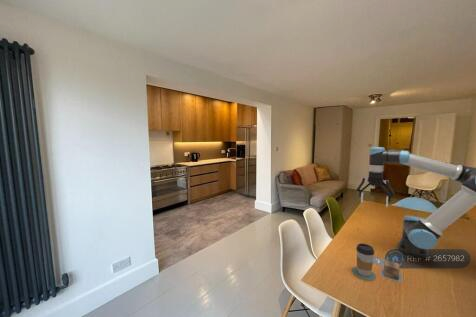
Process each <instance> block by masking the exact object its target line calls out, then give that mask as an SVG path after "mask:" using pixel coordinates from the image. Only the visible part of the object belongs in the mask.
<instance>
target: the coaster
mask: <svg viewBox="0 0 476 317" xmlns="http://www.w3.org/2000/svg"><path fill="white" fill-rule="evenodd" d="M351 272H352V274H353V275H354V276H355V277H356V278H358V279H361V280H362V281H366V282H367V281H369V282H373V281H375V280H376V279H377V277H376V274H375V273H374V272H373V271H372V270H371V275H370V276H369V277H365V276H362V275H360V274H359V273H358V271H357V266H354V267H353V268H352V269H351Z"/></svg>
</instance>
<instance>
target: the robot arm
mask: <svg viewBox="0 0 476 317" xmlns="http://www.w3.org/2000/svg"><path fill="white" fill-rule="evenodd" d="M384 163H388V164H389V163H391V164H402V165H405V166H408V167H412V168H416V169H419V170H422V171H426V172H430V173H433V174H436V175H440V176H443V177H446V178H447V177H448V178H450V179H451V180H452V181H454V182H458V183H461V184H460V187H461V188H460V190H459V191H457V192H456V193H455V194H454V195H452V196H451V197H450V198H449V199H448V200H447V201H445V202H444V203H443V204H442V205H441V206H440V207H438V208H437V209H436V210H435V211H433V212H432V213H431V214H430V215H428V216H427V217H426V218H424V217H421V216H416V215H404V217H403V219H402V222H403V223H402V233H401V237H400V240H399V242H398V244H397V248H398V250H399V251H401V252H402V253H404V254H406V255H409V256H410V257H411V256H412V257H416V258H428V256H429V250H430V249H434V248H435V247H436V246H437V244H438V240H439V239H440V238H441V237H442V236H443V231H444V230H446V229H447V228H449V226H450V225H452V224H454V223H455V222H456V221H457V220H458V219H459V218H461V217H463V216H464V215H465V214H466V213H468V211H470V210H471V209H472V208H474V207H475V206H476V167H475V166H474V167H473V166H468V165H463V164H458V165H455V164H451V163H448V162H444V161H440V160H436V159H433V158H429V157H424V156H421V155H417V154H413V153H411V152H409V151H408V150H397V149H394V148H393V149H390V150H386V149H385V147H383V146H381V147H380V146H372V147H370V150H369V162H368V166H369V167H368V177H363V178H362V181H361V183H360V184H358V186H357V188H356V191H357V192H359V196H358V197H360V203H363V202H364V192H363V191H365V189H367V188H368V187H369V186H372V187H376V188H377V187H379V188H380V189H381V190H382V191H383V192H384V193H385V194H386V198H385V200H386V203H385V208H388V207H389V202H391V201H392V200H391V198H392V197H395V192H394V190H393V188H392V187H391V186H392V185H391V184H390V180H389V179H387V180H386V179H385V180H384V165H385V164H384ZM366 182H368V183H367V184H366V185H365V186H364V184H365V183H366ZM383 183H384V184H386V187H387V188H386V187H385V186H384V184H383ZM362 186H364V187H362ZM387 189H388V190H389V191H388V190H387Z"/></svg>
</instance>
